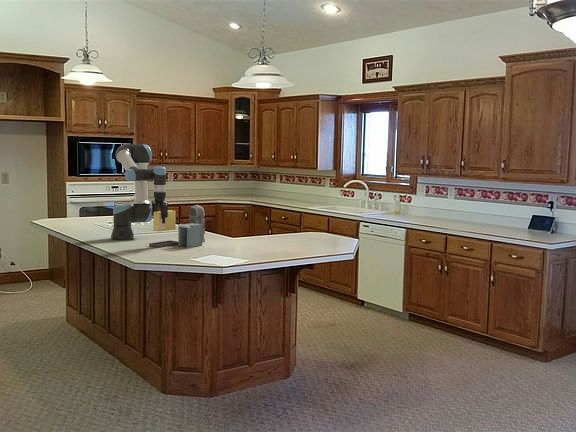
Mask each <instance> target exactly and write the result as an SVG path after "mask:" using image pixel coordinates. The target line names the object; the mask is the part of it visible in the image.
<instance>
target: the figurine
mask: <svg viewBox="0 0 576 432" xmlns="http://www.w3.org/2000/svg"><path fill="white" fill-rule="evenodd" d="M187 216H188V217H189V218H188V224H190V223H194V224H202V243H203V242H206V238H205V234H206V219H205V216H206V214H205V209H204V207H203V206H201V205H199V204H195V205H192V206H191V207H190V208H189V209H188V214H187Z"/></svg>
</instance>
